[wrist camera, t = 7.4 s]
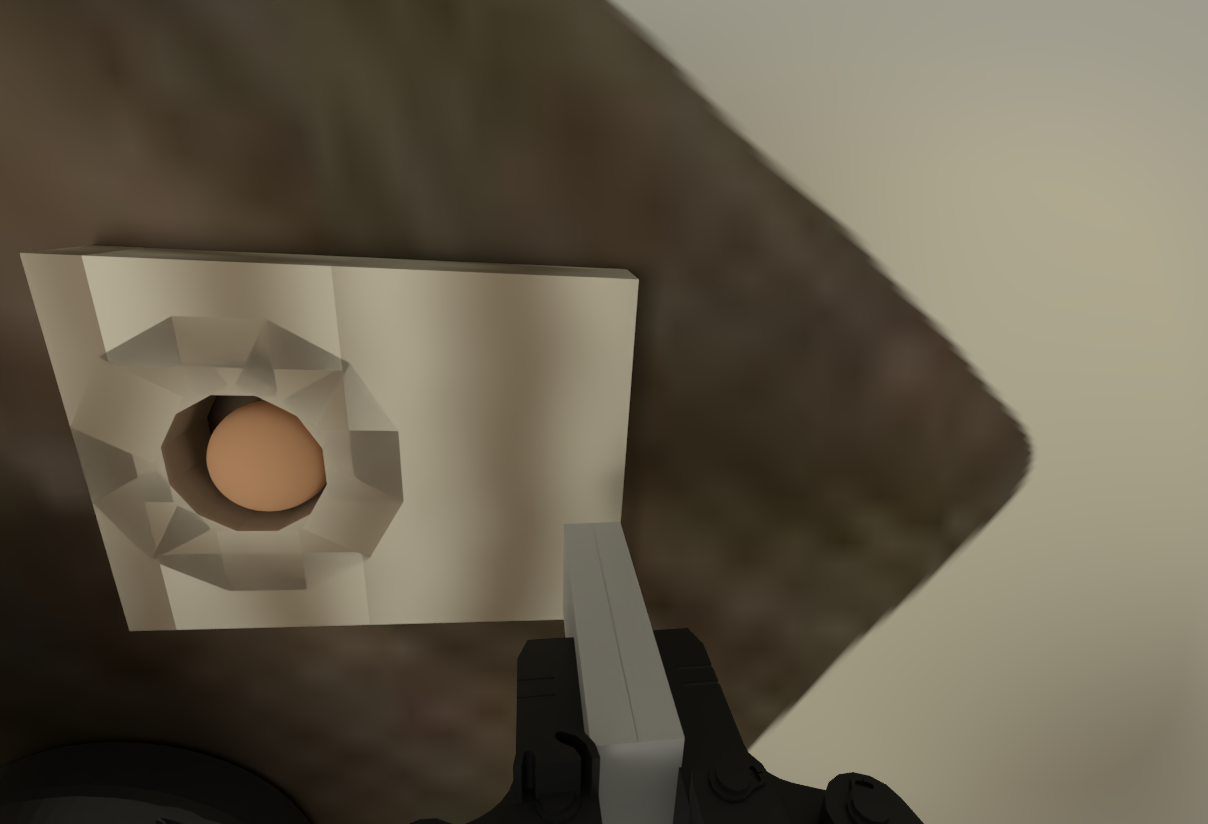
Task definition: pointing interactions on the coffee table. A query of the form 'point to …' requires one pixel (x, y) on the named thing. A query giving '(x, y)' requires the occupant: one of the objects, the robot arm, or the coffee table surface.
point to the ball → (265, 458)
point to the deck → (342, 428)
